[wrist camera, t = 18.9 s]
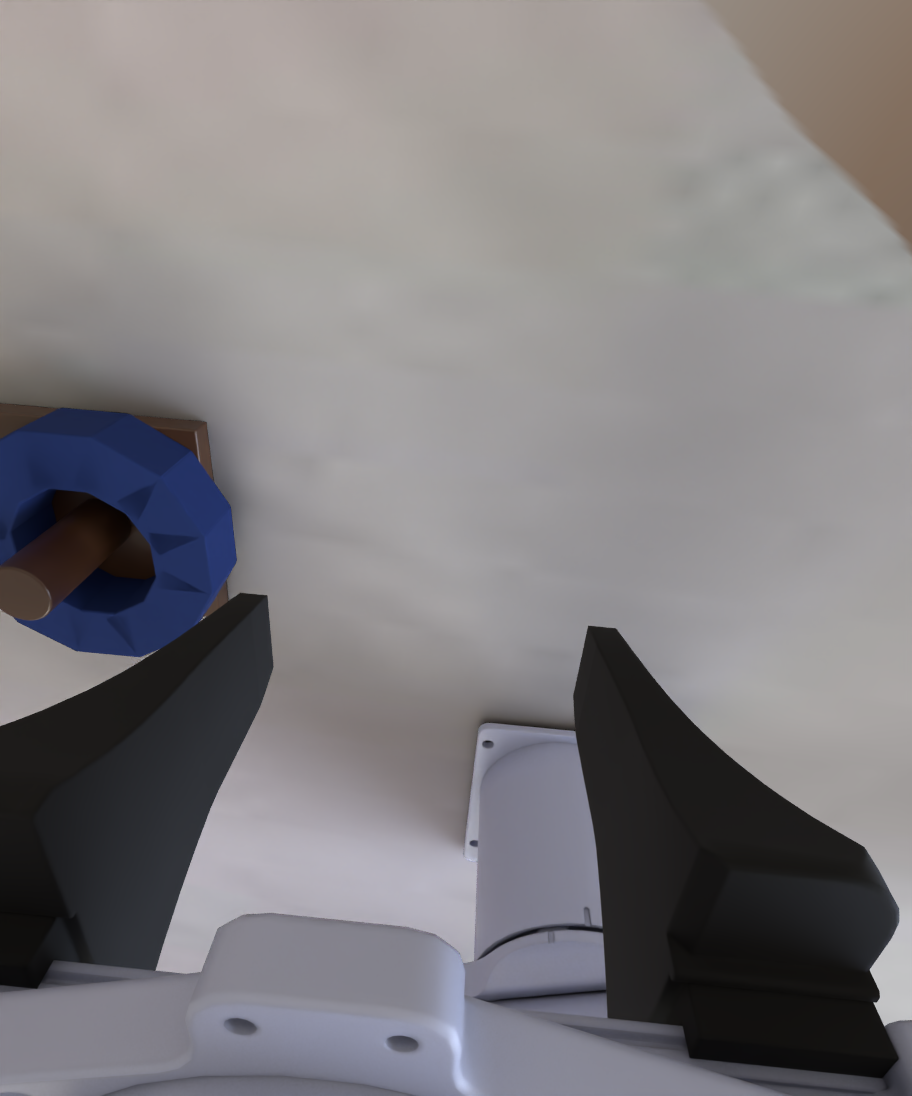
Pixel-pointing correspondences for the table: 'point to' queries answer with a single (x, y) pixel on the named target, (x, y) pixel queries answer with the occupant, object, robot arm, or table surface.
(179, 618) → the ring
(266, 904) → the table surface
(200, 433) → the stand
